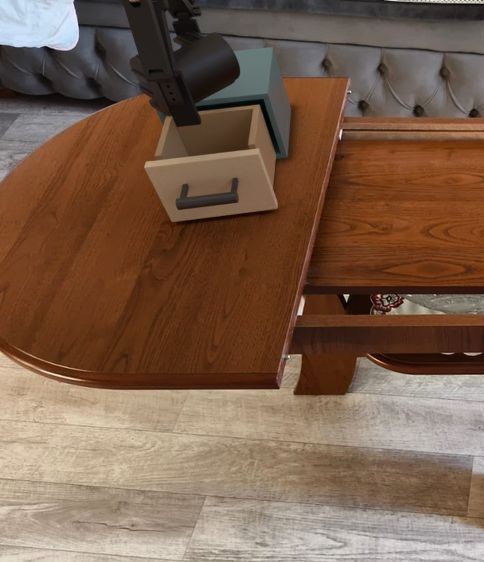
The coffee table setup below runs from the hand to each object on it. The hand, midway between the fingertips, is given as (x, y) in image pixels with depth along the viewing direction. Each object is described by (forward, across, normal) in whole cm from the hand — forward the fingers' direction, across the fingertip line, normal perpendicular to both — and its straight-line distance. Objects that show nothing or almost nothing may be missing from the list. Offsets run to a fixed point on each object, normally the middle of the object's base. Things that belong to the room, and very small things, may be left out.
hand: (196, 95), depth 83 cm
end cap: (+1, 0, 0) cm, 1 cm away
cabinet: (+14, -11, 0) cm, 18 cm away
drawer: (+13, +3, 0) cm, 14 cm away
